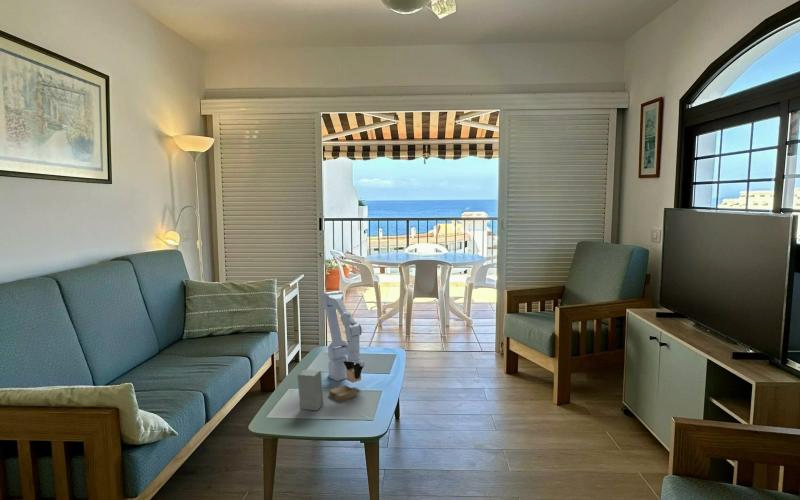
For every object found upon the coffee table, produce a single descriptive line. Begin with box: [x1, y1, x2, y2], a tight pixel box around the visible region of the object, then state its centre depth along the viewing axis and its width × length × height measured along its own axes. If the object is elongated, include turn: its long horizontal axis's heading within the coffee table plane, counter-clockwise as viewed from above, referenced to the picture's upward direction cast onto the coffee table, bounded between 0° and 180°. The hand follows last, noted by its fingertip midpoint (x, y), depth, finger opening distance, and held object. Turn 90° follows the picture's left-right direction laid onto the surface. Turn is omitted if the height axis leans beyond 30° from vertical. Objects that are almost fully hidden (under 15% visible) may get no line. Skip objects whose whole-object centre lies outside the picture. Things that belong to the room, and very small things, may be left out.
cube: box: [346, 368, 362, 384], centre depth 220 cm, size 5×5×5 cm
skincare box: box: [296, 368, 324, 411], centre depth 198 cm, size 8×7×16 cm
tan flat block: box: [328, 385, 358, 403], centre depth 210 cm, size 9×9×3 cm
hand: (353, 376), depth 220 cm, fingers closed on cube, 5 cm apart
